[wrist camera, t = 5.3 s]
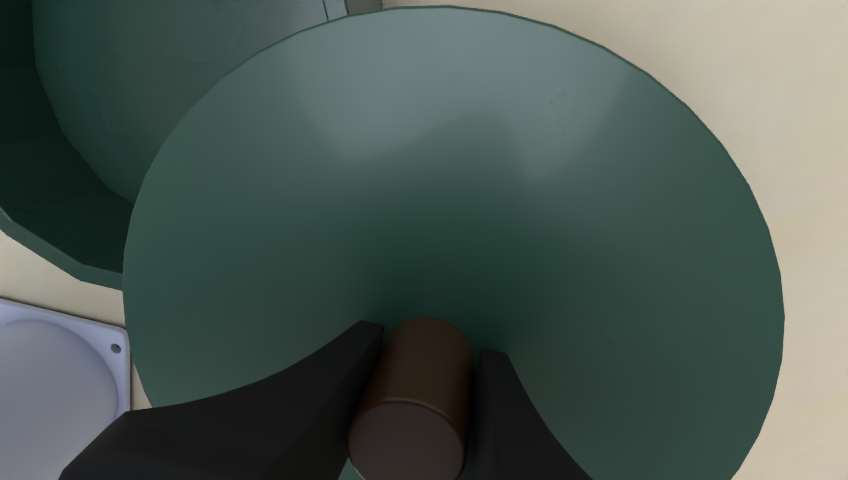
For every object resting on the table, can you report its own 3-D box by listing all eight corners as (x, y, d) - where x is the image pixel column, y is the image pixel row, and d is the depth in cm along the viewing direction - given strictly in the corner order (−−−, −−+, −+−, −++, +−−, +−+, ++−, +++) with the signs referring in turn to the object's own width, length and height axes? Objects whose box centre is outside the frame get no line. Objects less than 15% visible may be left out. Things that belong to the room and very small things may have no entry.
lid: (890, 87, 12) (1110, 112, 7) (642, 622, 17) (685, 808, 13) (147, -53, 13) (-31, -102, 8) (146, 494, 18) (39, 627, 14)
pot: (425, -122, 19) (396, -181, 14) (361, 278, 25) (324, 339, 20) (10, -197, 20) (-155, -277, 15) (36, 204, 26) (-79, 243, 20)
